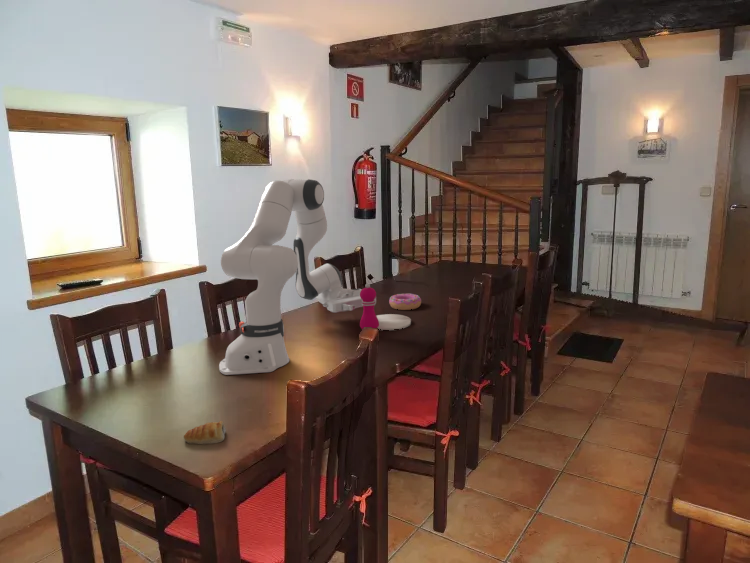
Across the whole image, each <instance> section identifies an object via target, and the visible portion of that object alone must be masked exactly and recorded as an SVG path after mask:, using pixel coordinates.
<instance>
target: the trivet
mask: <svg viewBox="0 0 750 563" xmlns="http://www.w3.org/2000/svg"><path fill="white" fill-rule="evenodd" d="M376 316H377V318H378V321H379V327H378V329H379V330H378V331H383V330H389V331H395V330H394V329H399V330H402V328H403V329H406V328H409V327H410V326H411V325H412V319H411V318H410V317H409V316H406V315H403V314H396V313H395V314H394V313H393V314H392V313H389V314H388V313H387V314H386V313H385V314H377V315H376ZM380 329H381V330H380Z"/></svg>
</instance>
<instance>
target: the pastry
mask: <svg viewBox="0 0 750 563" xmlns="http://www.w3.org/2000/svg"><path fill="white" fill-rule="evenodd" d="M225 434H226V425H225V423H224V421H222V420H220V421H219V422H218V421H216V422H214V421H212V422H206V423H204V424H201V425H199V426H195V427H194V428H190V429H189V430H187V431H186V432H185V434H184V435H183V440H184V441H185V442H186V443H188V444H189V445H190V444H196V445H207V444H218V443H221V442H223V441H224V440H225V437H226V436H225Z"/></svg>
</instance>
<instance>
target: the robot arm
mask: <svg viewBox="0 0 750 563" xmlns="http://www.w3.org/2000/svg"><path fill="white" fill-rule="evenodd" d="M324 200H325V190H324V187H323V186H322V184H321V183H320V182H319V181H318V180H314V179H309V178H308V179H292V178H291V179H283V180H280V179H279V180H273V181H270V182H269V183H268V184H267V185H265V188H264V190H263V193H262V195H261V196H260V199H259V203H258V204H257V208H256V212H255V215H254V217H253V220H252V222H251V224H250V226H249V227H248V230H246V232H244V234H243V236H242V237H241V238H240V239H238V240H237V241H236V242H235V243H234V244H232V245H231V246H228V247H226V248H225V249H224V251H222V254H221V257H220V266H221V269H222V271H223V272H224V273H223V274H225V275H227V276H228V277H232V278H235V279H241V280H257V288H256V290H253V291H252V292H250V293H249V294H248V295H247V296H246V298H245V301H244V306H245V307H244V308H245V316H246V317H245V318H246V321H240V322H238V323H239V324H238V327H239V328H240V335H239V336H238V337H237V338H236V339H235V340H233V341H232V342H230V344H229V345H228V346H227V347H226V351H225V357H224V358H223V359H222V360H221V361H219V365H218V369H219V370H218V371H219V372H220V373H221V374H223V375H225V376H226V375H227V376H229V375H246V374H258V373H271V372H274V371H275V370H277V369H278V368H281V367H283V366H286V365H287V364H289V362H290V357H289V355H288V351H287V349H286V344H285V339H284V336H285V335H284V334H285V326H284V321H283V318H282V312H281V311H282V310H281V304H282V303H281V298H282V297H281V296H282V292H283V289H284V287H285V285H286V283H288V281H289V280H290V279H292V277H294V275H295V289H296V292H297V294H298V296H299V297H301V299H304V300H308V301H313V299H316V300H317V301H318V302H319V303H320V304H322V306H323V307H325V308H326V309H327V311H330V312H331V313H340V312H341V313H342V312H349V311H355V309H359V308H363V305H362V299H361V297H360V292H361V290H362V289H363V288H362V289H361V288H352V289H351V288H343V277H342V274H341V272H340V270H339V268H338V267H336V266H335V265H333V264H331V263H327V262H326V263H324V264H323V265H320V266H319V267H317V268H315V269H313V270H312V271H310V264H309V255H310V253H311V251H312V250H313V249H314V247H315V246H316V245H317V244H318V243H319V242H320V241H321V240H322V239H323V238H324V237H325V235H326V232H327V231H328V220H327V216H326V213H325V209H324V206H323V203H324ZM292 212H294V215H295V219H296V224H297V231H296V235H295V238H294V239H293V249H292V248H291V247H288V246H283V245H278V244H277V245H275V244H276V243H277V242H279V241H281V240H282V239H283V238H285V235H286V234H287V230H288V227H289V222H290V219H291V215H292ZM374 300H375V305H374V307H375V306H376V304H377V296H376V297H375V299H374Z"/></svg>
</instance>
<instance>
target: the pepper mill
mask: <svg viewBox="0 0 750 563" xmlns="http://www.w3.org/2000/svg"><path fill="white" fill-rule="evenodd" d="M360 297H361V299H362V305H363V307H362V309H363V310H362V316H361V317H360V320H359V327H360V329H361V330H362V329H363V328H364V327H372V328H378V327H379V321H378V318H377V315H376V312H375V306H376V304H375V300H374V299H375V297H376V298H377V292H376V290H375V288H373V287H371V284H370V283H366V284H365V287H364V288H362V290H361V292H360ZM374 305H375V306H374Z"/></svg>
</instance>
